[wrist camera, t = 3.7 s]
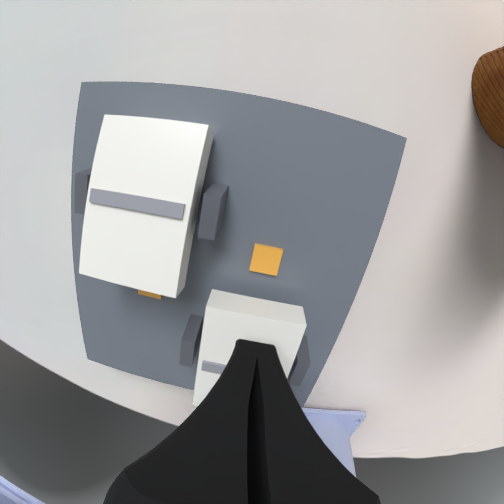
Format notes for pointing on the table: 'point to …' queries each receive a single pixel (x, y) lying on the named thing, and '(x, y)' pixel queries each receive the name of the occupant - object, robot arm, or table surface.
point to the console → (242, 224)
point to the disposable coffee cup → (490, 93)
